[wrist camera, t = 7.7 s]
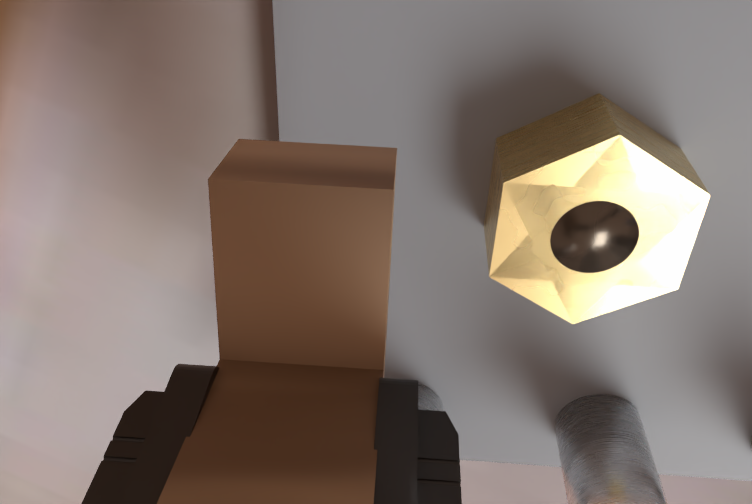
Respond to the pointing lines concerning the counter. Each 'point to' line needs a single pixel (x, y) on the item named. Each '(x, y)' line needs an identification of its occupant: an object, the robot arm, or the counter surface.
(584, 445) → the spacers
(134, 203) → the counter surface
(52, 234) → the counter surface
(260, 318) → the wooden stepped block
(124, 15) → the counter surface
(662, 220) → the nut
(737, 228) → the board
